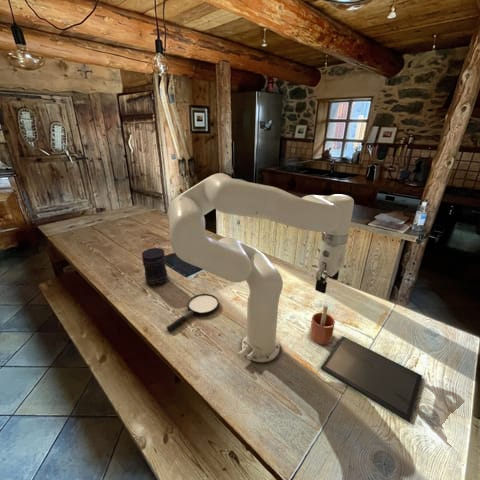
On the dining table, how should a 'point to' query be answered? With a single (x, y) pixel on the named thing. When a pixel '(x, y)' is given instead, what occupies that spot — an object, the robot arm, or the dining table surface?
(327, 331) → the pen pot
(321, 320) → the stylus
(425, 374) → the dining table surface
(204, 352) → the dining table surface
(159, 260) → the storage jar
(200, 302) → the magnifying glass
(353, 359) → the tablet
